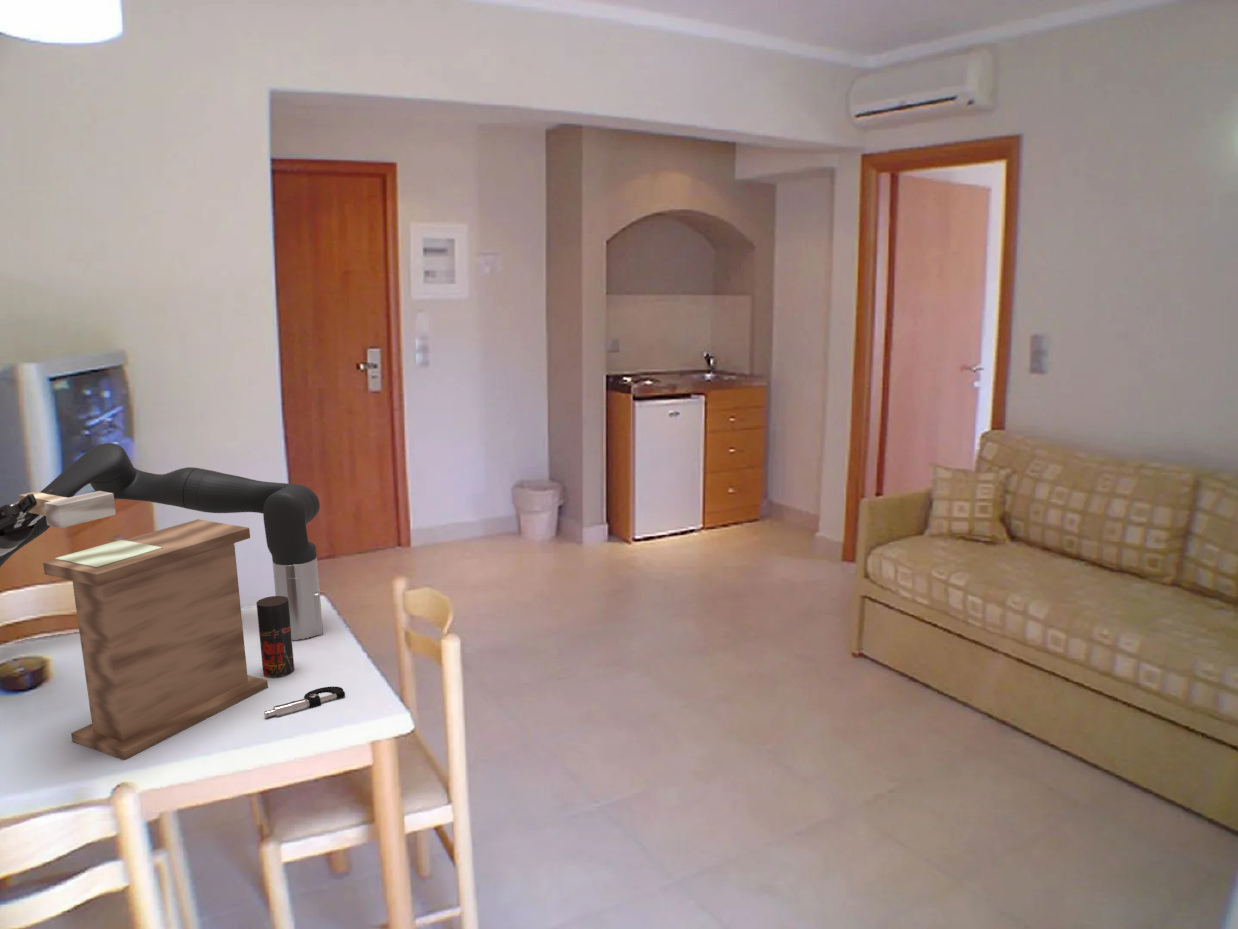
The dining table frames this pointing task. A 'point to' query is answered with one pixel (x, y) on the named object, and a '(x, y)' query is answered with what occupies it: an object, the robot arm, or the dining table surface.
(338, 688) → the micrometer
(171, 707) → the stand
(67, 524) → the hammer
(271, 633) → the deodorant
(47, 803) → the dining table surface
